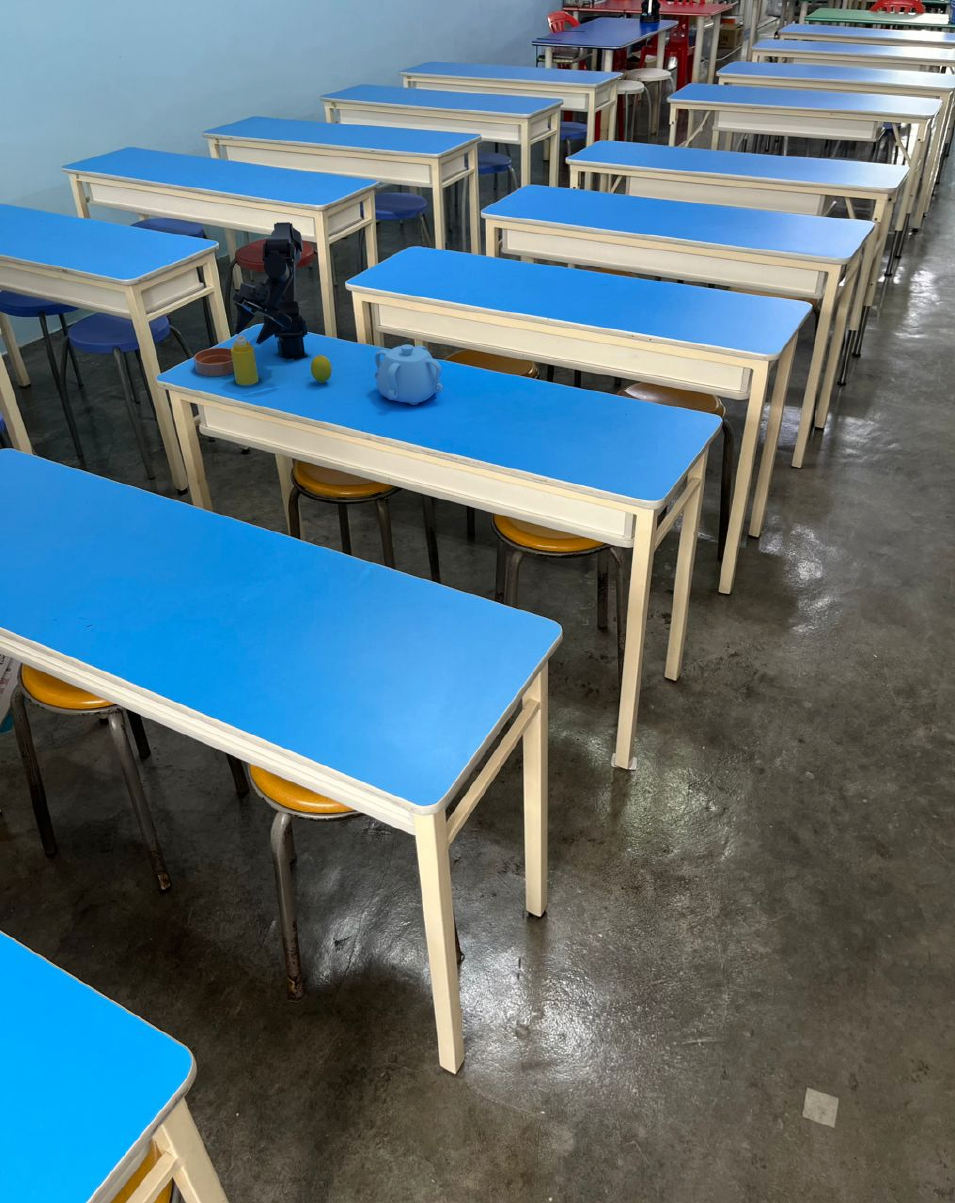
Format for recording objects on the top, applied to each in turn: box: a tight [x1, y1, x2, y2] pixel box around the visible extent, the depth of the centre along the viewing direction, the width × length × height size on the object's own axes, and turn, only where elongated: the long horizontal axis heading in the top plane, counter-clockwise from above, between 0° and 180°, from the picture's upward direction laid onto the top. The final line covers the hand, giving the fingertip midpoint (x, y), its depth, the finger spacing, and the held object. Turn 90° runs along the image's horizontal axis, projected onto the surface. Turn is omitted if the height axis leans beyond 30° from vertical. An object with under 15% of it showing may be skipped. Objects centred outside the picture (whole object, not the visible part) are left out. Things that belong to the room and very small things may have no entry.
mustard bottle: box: [230, 334, 259, 386], centre depth 250 cm, size 6×6×13 cm
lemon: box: [310, 354, 333, 384], centre depth 252 cm, size 6×6×8 cm
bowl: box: [193, 347, 235, 377], centre depth 260 cm, size 12×12×4 cm
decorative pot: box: [374, 343, 444, 406], centre depth 244 cm, size 16×16×14 cm
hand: (246, 338), depth 249 cm, fingers open, 9 cm apart
